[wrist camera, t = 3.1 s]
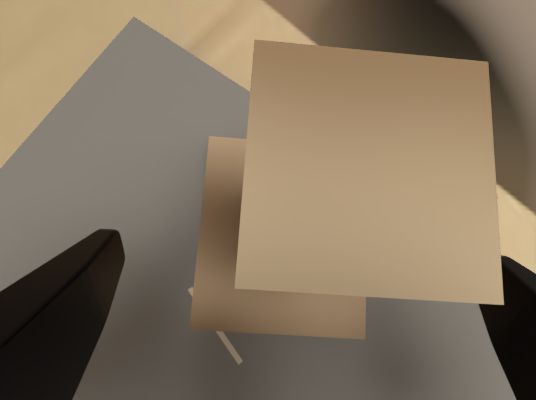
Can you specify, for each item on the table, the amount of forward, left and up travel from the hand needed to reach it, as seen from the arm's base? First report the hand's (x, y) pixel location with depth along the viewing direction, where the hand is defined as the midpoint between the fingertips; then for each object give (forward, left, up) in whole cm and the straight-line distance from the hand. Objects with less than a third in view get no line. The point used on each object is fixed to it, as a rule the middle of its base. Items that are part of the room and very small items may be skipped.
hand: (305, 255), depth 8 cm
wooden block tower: (0, -1, -7) cm, 8 cm away
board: (0, +2, -9) cm, 9 cm away
